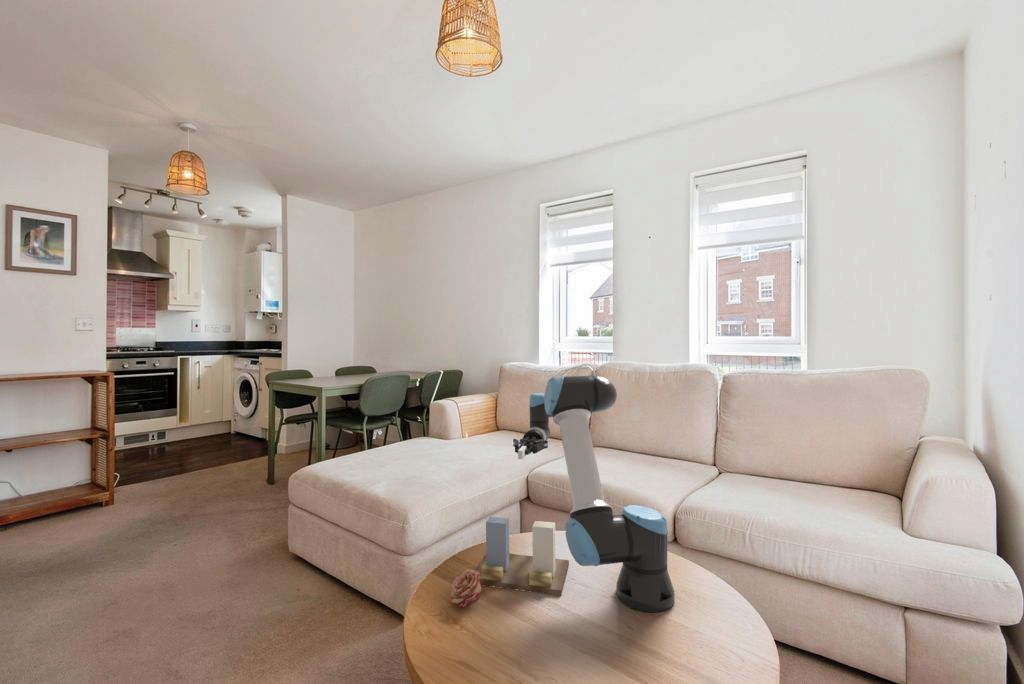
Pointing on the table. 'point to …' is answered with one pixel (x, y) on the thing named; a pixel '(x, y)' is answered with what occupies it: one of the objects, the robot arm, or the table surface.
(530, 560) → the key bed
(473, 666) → the table surface
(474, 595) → the flower
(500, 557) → the light blue tall block
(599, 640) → the table surface
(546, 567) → the key cream
